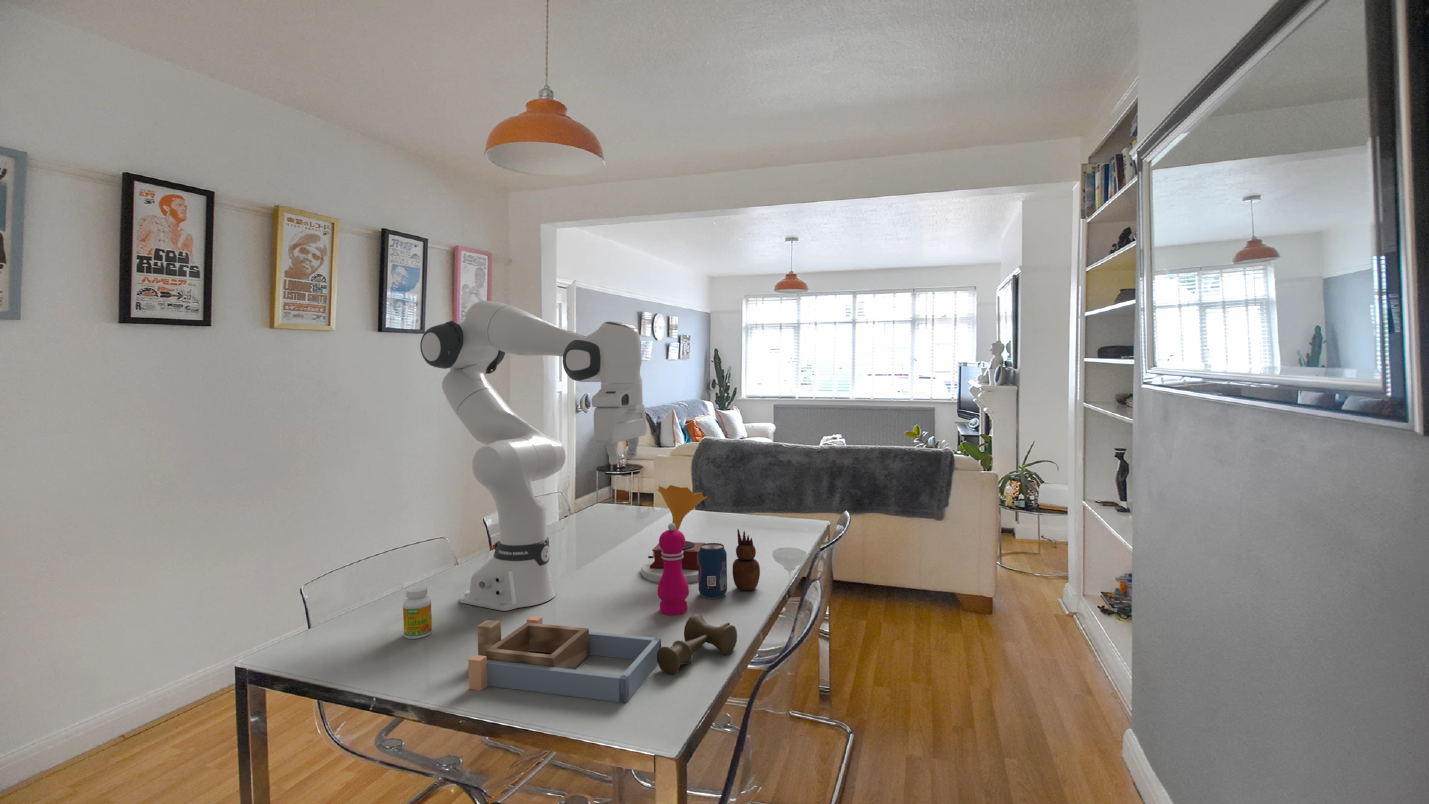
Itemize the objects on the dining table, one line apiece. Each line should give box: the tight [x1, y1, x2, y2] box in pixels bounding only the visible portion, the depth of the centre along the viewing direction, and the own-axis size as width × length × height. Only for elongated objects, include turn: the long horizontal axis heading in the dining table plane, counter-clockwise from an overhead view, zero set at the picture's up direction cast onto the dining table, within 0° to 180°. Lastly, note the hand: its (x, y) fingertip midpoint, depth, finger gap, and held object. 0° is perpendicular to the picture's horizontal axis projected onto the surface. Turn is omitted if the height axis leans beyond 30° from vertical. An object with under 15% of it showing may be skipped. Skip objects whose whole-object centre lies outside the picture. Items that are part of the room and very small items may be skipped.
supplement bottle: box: [402, 585, 433, 640], centre depth 136 cm, size 5×5×10 cm
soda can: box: [697, 542, 728, 600], centre depth 157 cm, size 7×7×12 cm
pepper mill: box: [656, 522, 690, 616], centre depth 147 cm, size 7×7×20 cm
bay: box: [467, 615, 662, 704], centre depth 118 cm, size 28×20×5 cm
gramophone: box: [640, 484, 709, 584], centre depth 176 cm, size 20×20×25 cm
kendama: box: [657, 613, 738, 676], centre depth 124 cm, size 6×10×20 cm
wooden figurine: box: [732, 528, 761, 592], centre depth 161 cm, size 7×6×15 cm
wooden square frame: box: [476, 619, 590, 670], centre depth 120 cm, size 19×13×7 cm
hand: (623, 460), depth 140 cm, fingers open, 8 cm apart
